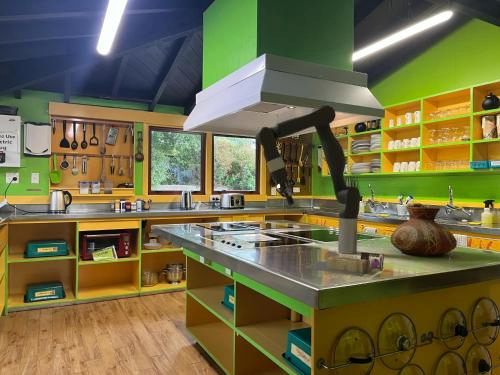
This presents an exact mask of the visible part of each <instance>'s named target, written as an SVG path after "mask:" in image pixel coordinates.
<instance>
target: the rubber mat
mask: <svg viewBox="0 0 500 375" xmlns="http://www.w3.org/2000/svg"><path fill="white" fill-rule="evenodd" d="M303 269H307V270H308V269H309V270H316V271H323V272H329V273H335V274H342V275H348V276H355V277H363V276H365V275H368V274H369V273H370V272H372V271H373V270H374V267H370V271H369V272H367V273H365V274H363V273H356V272H350V271H343V270H336V269H329V268H327V261H322V260H321V261H316V262H314V263H311V264H309V265H307V266H303Z"/></svg>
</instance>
